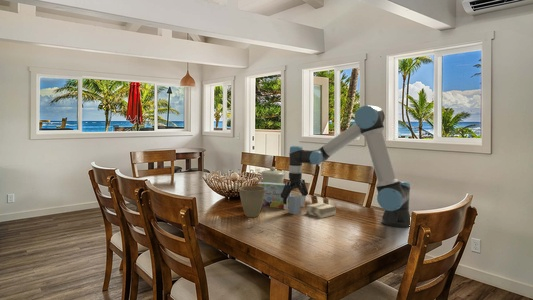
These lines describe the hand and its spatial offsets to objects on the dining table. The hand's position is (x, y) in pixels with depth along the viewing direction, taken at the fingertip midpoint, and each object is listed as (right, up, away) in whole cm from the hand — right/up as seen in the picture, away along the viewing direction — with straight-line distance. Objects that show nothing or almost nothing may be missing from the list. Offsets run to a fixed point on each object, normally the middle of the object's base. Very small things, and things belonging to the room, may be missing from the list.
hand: (294, 207), depth 203 cm
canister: (-12, +1, +48) cm, 50 cm away
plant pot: (-25, -4, -7) cm, 26 cm away
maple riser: (+16, -3, -1) cm, 16 cm away
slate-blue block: (0, -3, 0) cm, 3 cm away
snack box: (-12, -2, +15) cm, 19 cm away
